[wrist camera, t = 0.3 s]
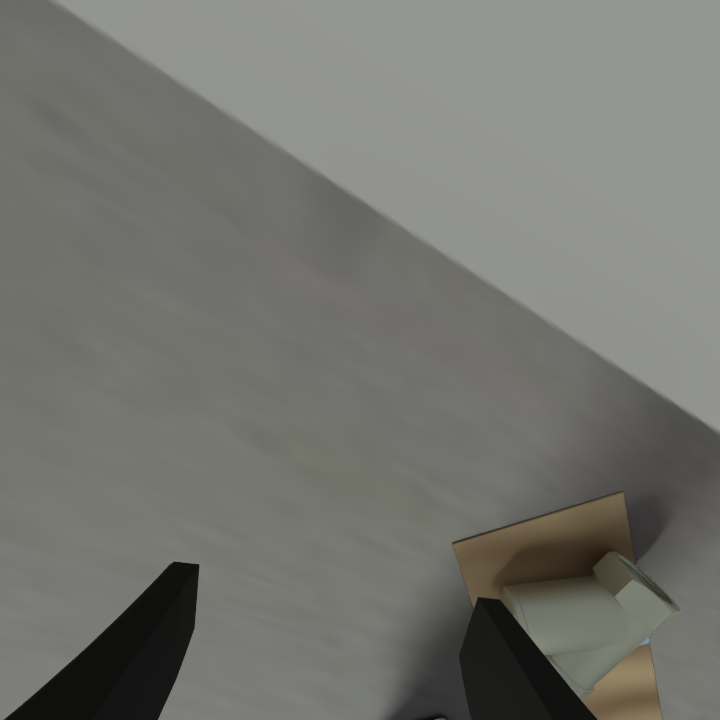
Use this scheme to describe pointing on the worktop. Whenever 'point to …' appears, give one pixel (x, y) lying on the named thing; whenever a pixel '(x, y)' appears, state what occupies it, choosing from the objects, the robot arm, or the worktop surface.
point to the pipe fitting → (591, 618)
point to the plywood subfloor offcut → (561, 561)
